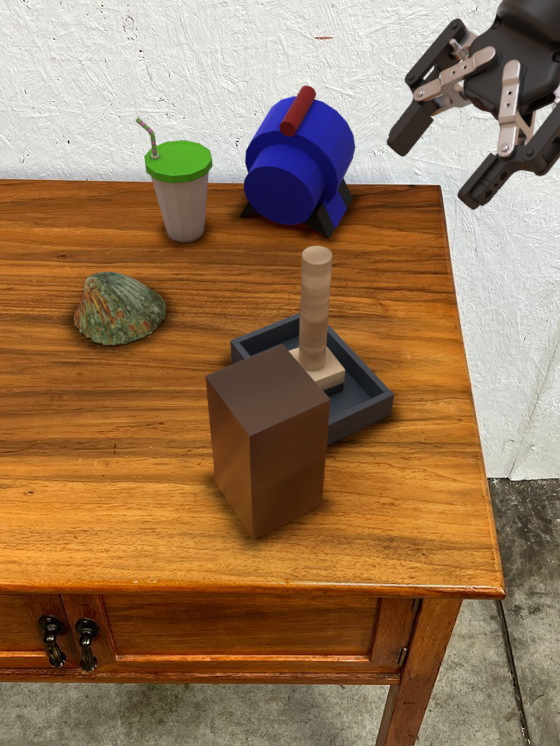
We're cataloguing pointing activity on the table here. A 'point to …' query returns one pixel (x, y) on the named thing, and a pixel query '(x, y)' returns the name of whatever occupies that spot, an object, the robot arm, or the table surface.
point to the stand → (268, 438)
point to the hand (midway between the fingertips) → (428, 176)
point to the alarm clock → (300, 164)
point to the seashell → (118, 309)
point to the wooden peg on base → (317, 322)
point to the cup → (179, 184)
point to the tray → (361, 386)
